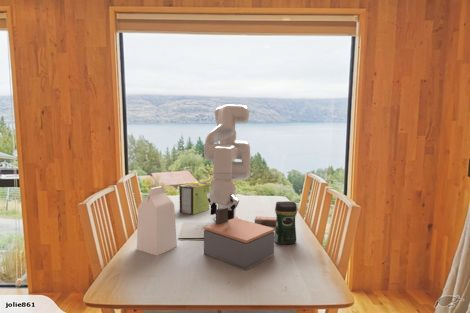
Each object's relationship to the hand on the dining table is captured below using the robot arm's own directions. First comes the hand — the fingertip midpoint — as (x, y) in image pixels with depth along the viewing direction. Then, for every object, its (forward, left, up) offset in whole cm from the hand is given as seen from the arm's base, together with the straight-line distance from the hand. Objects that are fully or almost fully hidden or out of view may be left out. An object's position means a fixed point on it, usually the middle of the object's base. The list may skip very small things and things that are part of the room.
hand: (222, 216), depth 146 cm
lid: (+9, 0, -4) cm, 10 cm away
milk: (-21, -18, -14) cm, 31 cm away
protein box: (-51, +31, -14) cm, 61 cm away
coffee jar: (+15, +25, -14) cm, 33 cm away
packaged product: (-1, +39, -15) cm, 42 cm away
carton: (+9, 0, -14) cm, 17 cm away
